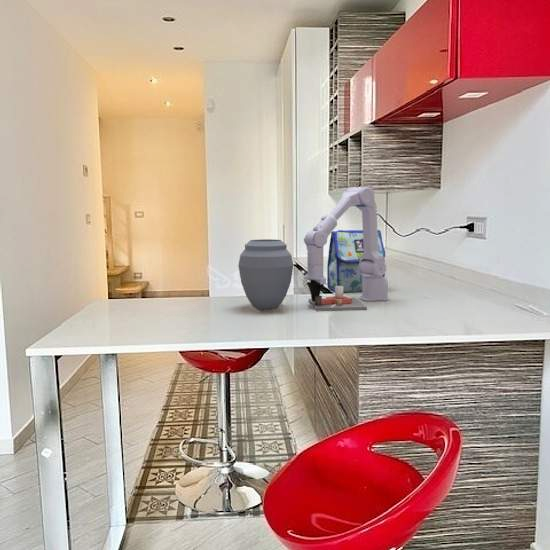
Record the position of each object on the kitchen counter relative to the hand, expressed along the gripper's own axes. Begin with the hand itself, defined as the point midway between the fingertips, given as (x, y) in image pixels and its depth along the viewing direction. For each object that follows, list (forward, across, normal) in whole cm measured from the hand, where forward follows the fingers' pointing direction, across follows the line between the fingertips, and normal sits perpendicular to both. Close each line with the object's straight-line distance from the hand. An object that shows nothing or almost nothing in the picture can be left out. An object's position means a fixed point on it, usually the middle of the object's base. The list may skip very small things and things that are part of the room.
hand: (315, 301), depth 193 cm
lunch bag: (+2, -30, +31) cm, 43 cm away
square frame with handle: (+1, +1, +6) cm, 6 cm away
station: (+2, 0, +9) cm, 10 cm away
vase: (+2, -3, -18) cm, 18 cm away
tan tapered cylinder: (+2, +6, +7) cm, 9 cm away
